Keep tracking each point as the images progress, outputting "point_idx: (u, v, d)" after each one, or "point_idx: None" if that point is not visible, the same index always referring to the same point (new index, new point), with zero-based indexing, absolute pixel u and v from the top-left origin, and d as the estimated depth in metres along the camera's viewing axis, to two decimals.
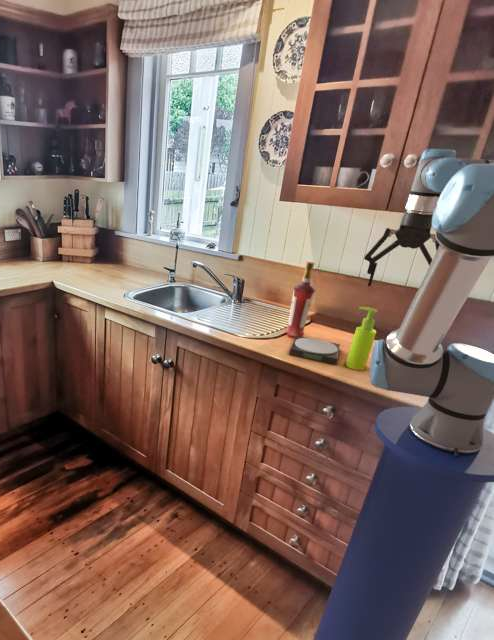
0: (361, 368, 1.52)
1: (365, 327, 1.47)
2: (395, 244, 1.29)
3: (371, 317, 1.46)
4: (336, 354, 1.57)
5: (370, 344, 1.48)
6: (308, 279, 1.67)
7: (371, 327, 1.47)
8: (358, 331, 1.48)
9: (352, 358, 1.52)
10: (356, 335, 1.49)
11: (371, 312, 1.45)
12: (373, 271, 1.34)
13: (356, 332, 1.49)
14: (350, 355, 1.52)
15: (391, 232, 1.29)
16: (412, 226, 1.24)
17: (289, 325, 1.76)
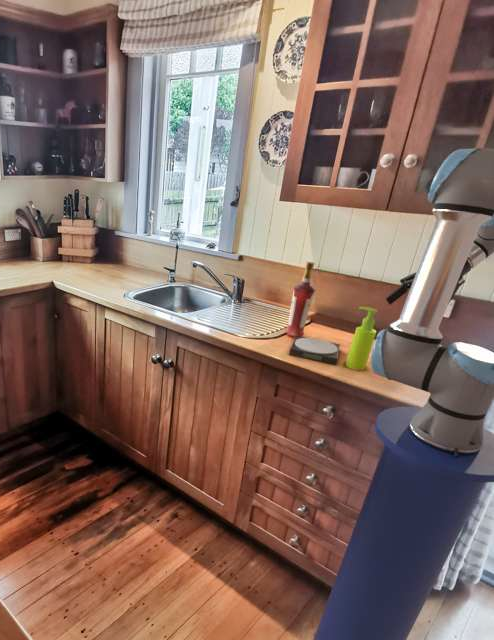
0: (361, 368, 1.52)
1: (365, 327, 1.47)
2: None
3: (371, 317, 1.46)
4: (336, 354, 1.57)
5: (370, 344, 1.48)
6: (308, 279, 1.67)
7: (371, 327, 1.47)
8: (358, 331, 1.48)
9: (352, 358, 1.52)
10: (356, 335, 1.49)
11: (371, 312, 1.45)
12: (397, 289, 1.50)
13: (356, 332, 1.49)
14: (350, 355, 1.52)
15: None
16: None
17: (289, 325, 1.75)
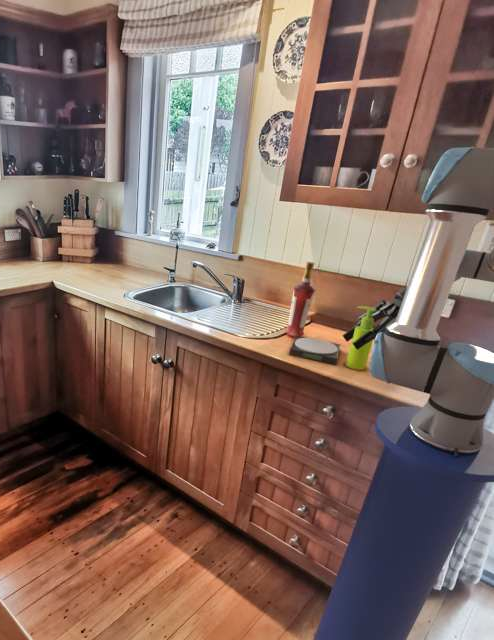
0: (361, 367, 1.52)
1: (365, 326, 1.47)
2: (380, 308, 1.49)
3: (370, 316, 1.47)
4: (336, 354, 1.57)
5: (370, 343, 1.48)
6: (308, 279, 1.67)
7: (370, 326, 1.47)
8: (357, 330, 1.48)
9: (352, 358, 1.52)
10: (355, 334, 1.49)
11: (370, 311, 1.46)
12: (354, 327, 1.52)
13: (355, 331, 1.49)
14: (350, 355, 1.52)
15: (385, 303, 1.51)
16: (397, 293, 1.45)
17: (289, 325, 1.75)
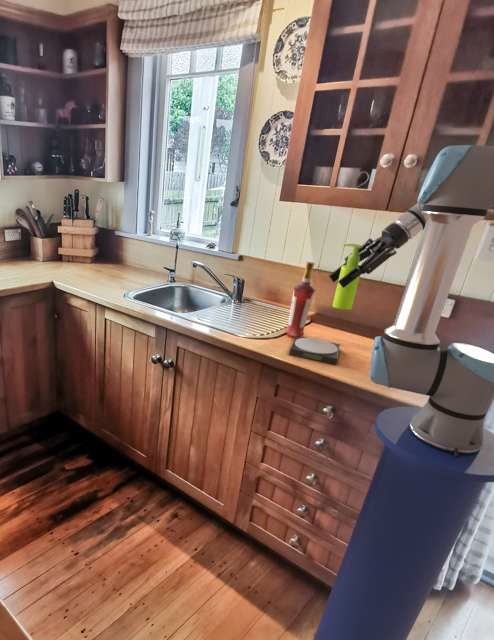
0: (348, 307, 1.50)
1: (351, 264, 1.46)
2: (367, 246, 1.47)
3: (356, 253, 1.45)
4: (336, 354, 1.57)
5: (356, 281, 1.47)
6: (308, 279, 1.67)
7: (356, 263, 1.45)
8: (343, 268, 1.47)
9: (338, 298, 1.50)
10: (342, 273, 1.48)
11: (356, 248, 1.44)
12: (340, 267, 1.51)
13: (341, 270, 1.48)
14: (336, 294, 1.51)
15: (372, 242, 1.49)
16: (384, 229, 1.43)
17: (289, 325, 1.75)
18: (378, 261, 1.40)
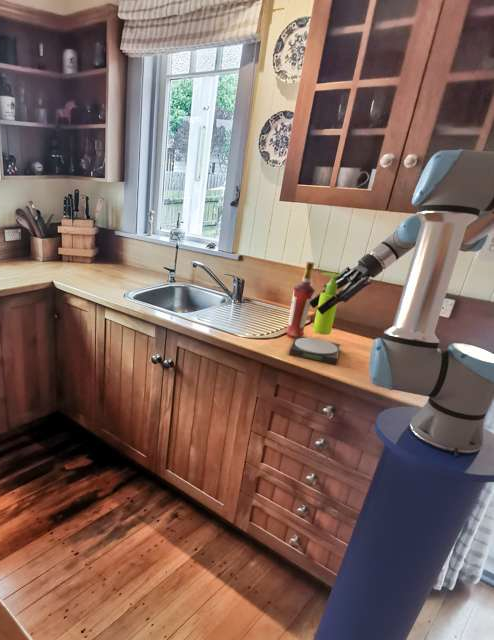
0: (326, 332, 1.57)
1: (329, 292, 1.53)
2: (344, 275, 1.54)
3: (334, 282, 1.52)
4: (336, 354, 1.57)
5: (334, 308, 1.54)
6: (308, 279, 1.67)
7: (334, 291, 1.53)
8: (322, 296, 1.54)
9: (317, 323, 1.57)
10: (320, 300, 1.55)
11: (333, 277, 1.52)
12: (319, 294, 1.58)
13: (320, 297, 1.55)
14: (316, 320, 1.58)
15: (349, 270, 1.56)
16: (360, 259, 1.51)
17: (289, 325, 1.75)
18: (354, 290, 1.48)
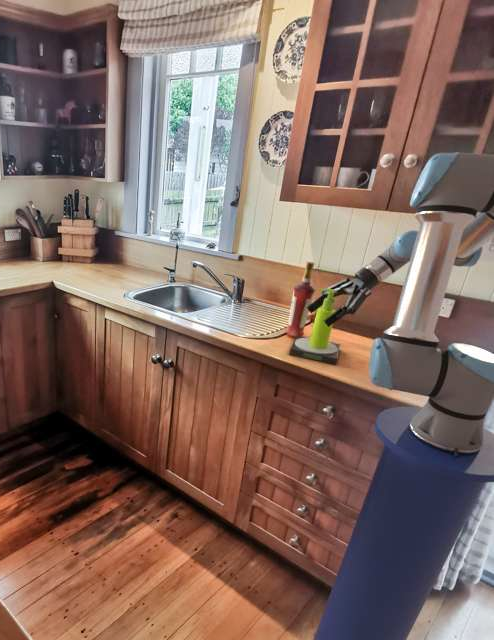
0: (323, 347, 1.60)
1: (326, 307, 1.55)
2: (341, 285, 1.57)
3: (331, 298, 1.54)
4: (336, 354, 1.57)
5: None
6: (308, 279, 1.67)
7: (331, 307, 1.55)
8: (319, 311, 1.56)
9: (314, 338, 1.60)
10: (317, 315, 1.57)
11: (331, 293, 1.53)
12: (317, 299, 1.62)
13: (317, 312, 1.57)
14: (312, 334, 1.60)
15: (348, 281, 1.58)
16: (356, 273, 1.53)
17: (289, 325, 1.75)
18: (358, 302, 1.47)
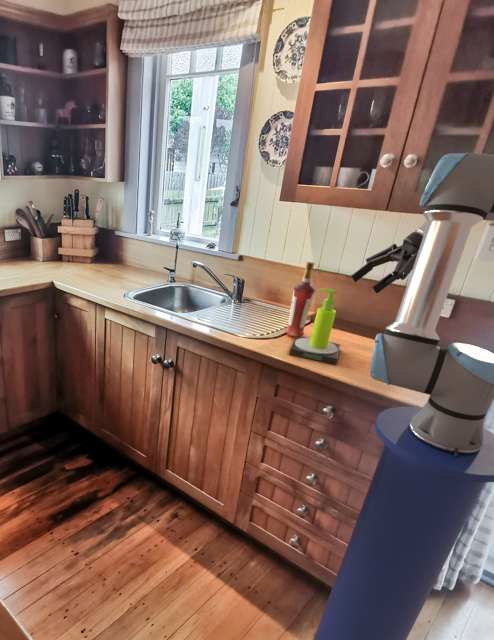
0: (323, 347, 1.60)
1: (326, 307, 1.55)
2: (389, 252, 1.53)
3: (331, 298, 1.54)
4: (336, 354, 1.57)
5: (330, 323, 1.56)
6: (308, 279, 1.67)
7: (331, 307, 1.55)
8: (319, 311, 1.56)
9: (314, 338, 1.60)
10: (317, 315, 1.57)
11: (331, 293, 1.53)
12: (362, 267, 1.58)
13: (317, 312, 1.57)
14: (312, 334, 1.60)
15: (395, 248, 1.54)
16: (405, 238, 1.48)
17: (289, 325, 1.75)
18: (409, 266, 1.43)
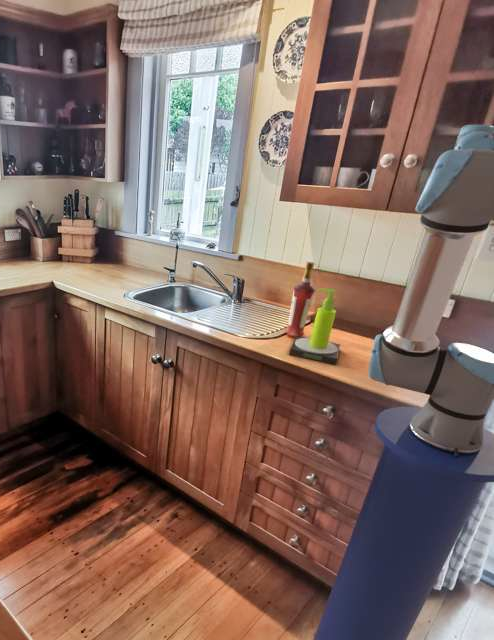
0: (323, 347, 1.60)
1: (326, 307, 1.55)
2: None
3: (331, 298, 1.54)
4: (336, 354, 1.57)
5: (330, 323, 1.56)
6: (308, 279, 1.67)
7: (331, 307, 1.55)
8: (319, 311, 1.56)
9: (314, 338, 1.60)
10: (317, 315, 1.57)
11: (331, 293, 1.53)
12: None
13: (317, 312, 1.57)
14: (312, 334, 1.60)
15: None
16: None
17: (289, 325, 1.75)
18: None
